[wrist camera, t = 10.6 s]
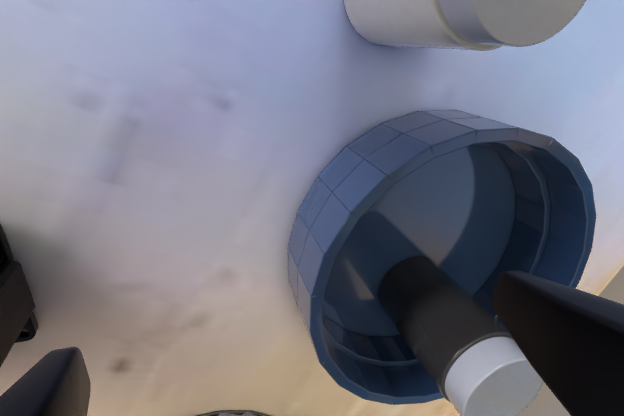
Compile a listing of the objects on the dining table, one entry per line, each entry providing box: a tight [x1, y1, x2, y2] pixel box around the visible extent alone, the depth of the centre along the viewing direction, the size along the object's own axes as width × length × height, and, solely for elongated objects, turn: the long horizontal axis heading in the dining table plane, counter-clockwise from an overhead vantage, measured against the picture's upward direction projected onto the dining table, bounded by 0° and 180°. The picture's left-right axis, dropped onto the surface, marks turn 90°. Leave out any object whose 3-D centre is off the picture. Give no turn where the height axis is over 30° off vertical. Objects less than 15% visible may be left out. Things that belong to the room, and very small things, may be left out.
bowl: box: [288, 110, 596, 405], centre depth 21 cm, size 16×16×5 cm
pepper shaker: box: [378, 257, 543, 416], centre depth 21 cm, size 5×5×8 cm
